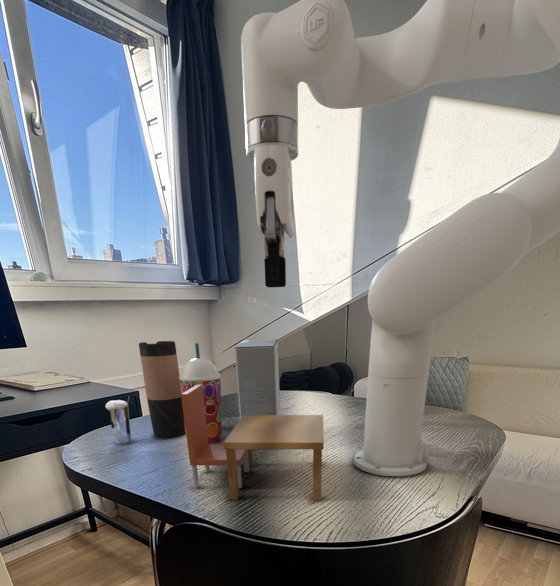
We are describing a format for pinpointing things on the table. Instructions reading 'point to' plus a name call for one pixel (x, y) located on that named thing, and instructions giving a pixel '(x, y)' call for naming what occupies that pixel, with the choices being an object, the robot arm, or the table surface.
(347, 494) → the table surface
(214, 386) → the smoothie
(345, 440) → the table surface
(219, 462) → the chair
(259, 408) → the hard drive box
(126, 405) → the milkshake
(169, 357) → the travel mug
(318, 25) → the robot arm
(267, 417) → the mini table
